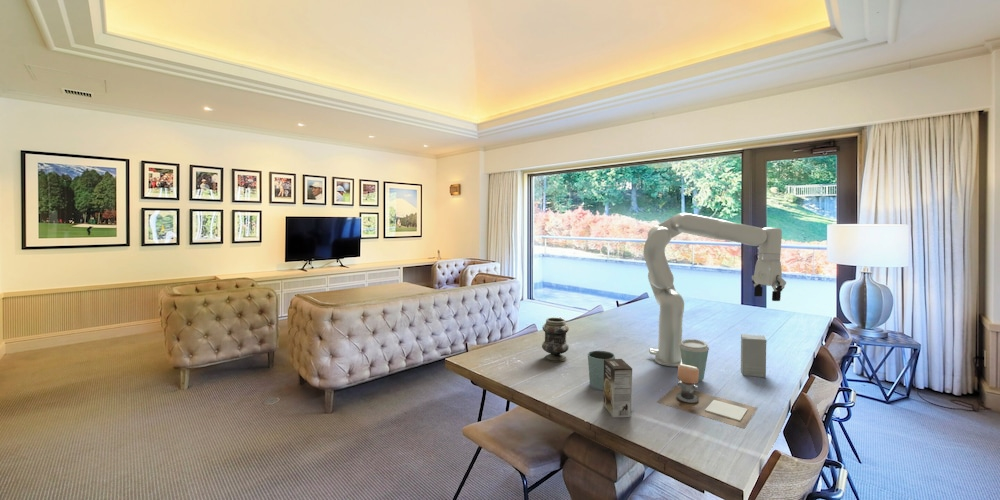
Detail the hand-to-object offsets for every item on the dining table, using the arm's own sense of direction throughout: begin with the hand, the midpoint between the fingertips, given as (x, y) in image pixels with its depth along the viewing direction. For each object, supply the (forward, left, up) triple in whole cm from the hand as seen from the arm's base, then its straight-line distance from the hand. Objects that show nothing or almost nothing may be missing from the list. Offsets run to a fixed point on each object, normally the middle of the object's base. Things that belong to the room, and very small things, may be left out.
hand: (766, 298), depth 168 cm
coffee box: (-28, -77, -30) cm, 87 cm away
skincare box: (-2, -11, -30) cm, 32 cm away
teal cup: (-42, -62, -30) cm, 81 cm away
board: (-7, -55, -30) cm, 63 cm away
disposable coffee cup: (-18, -33, -30) cm, 48 cm away
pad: (-1, -55, -29) cm, 62 cm away
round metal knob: (-13, -55, -29) cm, 64 cm away
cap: (-13, -55, -22) cm, 61 cm away
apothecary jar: (-72, -49, -30) cm, 92 cm away
